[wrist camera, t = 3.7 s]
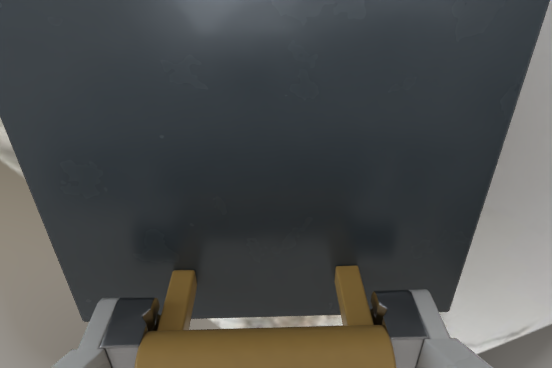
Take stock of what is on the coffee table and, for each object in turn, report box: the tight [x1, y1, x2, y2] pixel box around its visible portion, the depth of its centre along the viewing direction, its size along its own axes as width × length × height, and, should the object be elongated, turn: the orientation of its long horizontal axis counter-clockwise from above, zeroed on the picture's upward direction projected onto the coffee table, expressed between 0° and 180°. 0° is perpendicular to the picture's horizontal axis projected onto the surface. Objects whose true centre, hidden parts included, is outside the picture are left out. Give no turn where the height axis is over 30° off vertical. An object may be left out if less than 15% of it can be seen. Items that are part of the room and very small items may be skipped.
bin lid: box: [0, 0, 550, 368], centre depth 8 cm, size 15×12×5 cm
